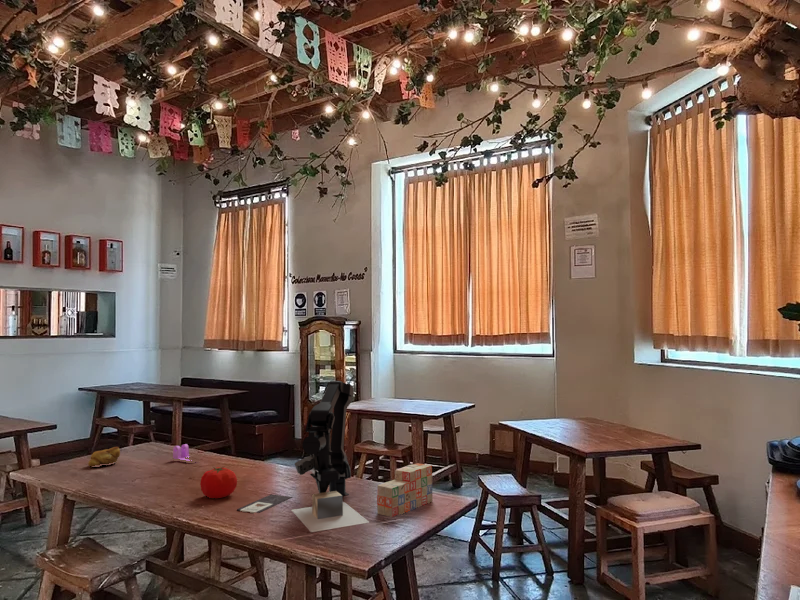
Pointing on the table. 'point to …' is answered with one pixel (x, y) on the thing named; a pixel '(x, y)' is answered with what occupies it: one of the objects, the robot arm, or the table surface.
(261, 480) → the table surface
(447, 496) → the table surface
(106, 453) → the bread roll
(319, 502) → the beech block
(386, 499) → the stack of blocks
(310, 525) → the rubber mat
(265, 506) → the chocolate bar
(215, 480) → the tomato
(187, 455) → the purple twin post stand
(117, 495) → the table surface
